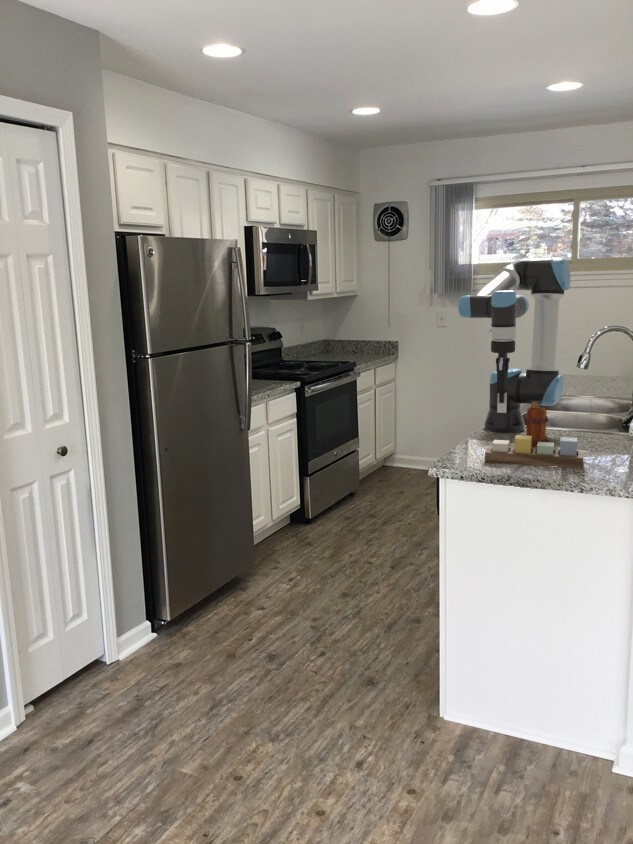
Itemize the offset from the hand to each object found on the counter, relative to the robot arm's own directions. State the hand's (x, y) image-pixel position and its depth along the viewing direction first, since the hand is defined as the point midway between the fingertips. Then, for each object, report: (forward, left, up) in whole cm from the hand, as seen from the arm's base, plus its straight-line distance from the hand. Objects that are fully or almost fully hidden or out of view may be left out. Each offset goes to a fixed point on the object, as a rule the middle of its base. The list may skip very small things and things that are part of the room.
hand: (501, 412), depth 235 cm
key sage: (0, +14, -15) cm, 20 cm away
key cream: (0, 0, -15) cm, 15 cm away
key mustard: (0, +7, -13) cm, 15 cm away
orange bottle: (-20, +9, -16) cm, 27 cm away
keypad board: (0, +10, -16) cm, 19 cm away
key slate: (0, +21, -13) cm, 25 cm away
